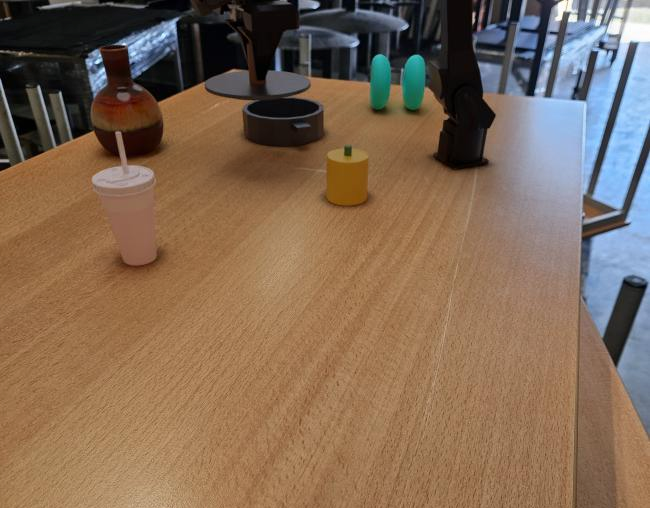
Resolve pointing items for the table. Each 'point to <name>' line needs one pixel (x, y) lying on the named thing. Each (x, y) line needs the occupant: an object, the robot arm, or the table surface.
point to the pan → (283, 121)
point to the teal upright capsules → (410, 87)
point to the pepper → (347, 176)
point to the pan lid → (257, 84)
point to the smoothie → (129, 208)
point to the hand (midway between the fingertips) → (257, 78)
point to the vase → (125, 108)
